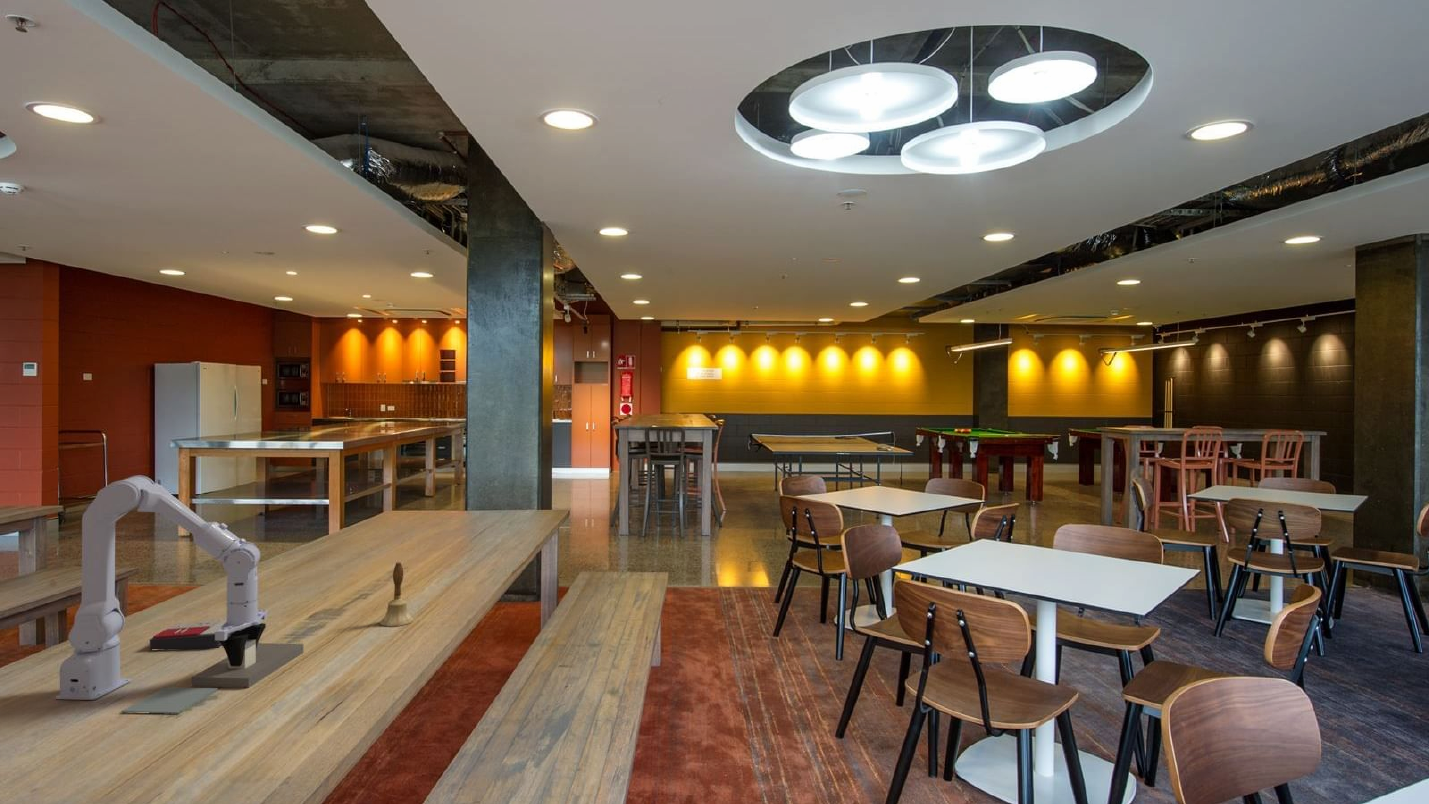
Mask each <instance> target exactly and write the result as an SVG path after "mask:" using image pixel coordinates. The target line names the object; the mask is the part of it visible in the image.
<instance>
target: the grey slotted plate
mask: <svg viewBox="0 0 1429 804" xmlns="http://www.w3.org/2000/svg"><path fill="white" fill-rule="evenodd" d="M303 653H304V643H267V642H266V643H264V642H263V643H261V642H260V643H259V642H258V645H257V648H256V663H254V664H253V665H251V666H249V667H248V668H246V669H233V668H228V657H225V658H222V660H220V661H218V662H217V663H214V664H212V665H211V666H209V667H207V668H206V669H204V670H202V671H200V672H198V673H196V674H195V675H192V676H191V687H192V686H197V687H196V688H236V687H246V688H247V689H248V688H250V686H251V687H253V686H254V685H256V684H257V683H258V682H259V680H260V681H261V679H262V678H263V679H264V677H265V678H266V677H268V676H269V675H271V674H272V673H274V672H276V671H277V670H279V669H280V668H282V667H283V666H285V665H286V664H288V663H289V662H290V661H292V660H294V659H296V658H298V657H299V656H300V655H301V654H303ZM276 669H277V670H276ZM263 679H262V680H263ZM246 688H245V689H246Z"/></svg>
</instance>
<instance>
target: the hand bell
mask: <svg viewBox="0 0 1429 804" xmlns="http://www.w3.org/2000/svg"><path fill="white" fill-rule="evenodd" d="M392 579H393V580H392V582H393V584H394V585H393V586H394V592H393V599H392V600H390V601H388V604H387V610H386V612H385V615H384V616H383V618H382V619H380V621H379V625H381V626H382V627H388V628H389V627H392V628H393V627H401V626H402V627H403V626H406V625H410V624H411V623H412V622H414V618H413V616H412V615H410V613H409V611H408V607H407V601H406V600H404V599H403V598H402V597H401V595H402V590H401V589H402V588H401V587H402V583H403V580H404V568H403V565H402V562H400V561H399V562H398V561H397V562H396V563H395V566H394V568H393V572H392Z"/></svg>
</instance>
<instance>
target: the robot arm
mask: <svg viewBox="0 0 1429 804" xmlns="http://www.w3.org/2000/svg"><path fill="white" fill-rule="evenodd" d="M90 503H91V504H90V505H89V506H88V507H87V509H86V510H85V511H84V512H83V514H82V518H81V519H82V520H81V521H82V522H81V602H80V605H79V607H78V609H77V611H76V613H75V616H74V623H73V626H72V627H71V629H70V631H69V634H68V642H69V644H70V645H71V647H73V648H74V650H73V652H72V653H71V655H70V656H69V657H67V658H66V659H64V660H63V661H62V663H61V665H60V666H59V667H60V668H59V695H56V696H55V699H56V700H77V701H78V700H80V701H81V700H84V701H85V700H87V701H93V700H96V699H99V698H100V697H103V696H104V695H107V694H109V693H110V692H112V691H115V690H116V689H119V688H120V687H122V686H124V685H126V684H129V683H130V682H131V681H132V678H121V639H120V637H119V633H120V632H121V631H122V630H123V628H124V626H125V624H126V621H125V620H126V619H125V616H124V613H123V612H122V611H121V608H120V607H121V606H120V604H121V603H120V601H119V599H118V598H117V597H116V523H117V521H119V520H120V519H121V518H122V517H124V516H125V515H127V514H128V513H129V512H130V511H131V510H134V509H136V508H137V512H141V513H145V512H146V513H158V514H160V515H161V516H163V517H165V518H166V519H168V520H169V521H171V522H172V523H175V524H176V525H178V526H179V527H181V528H182V529H184V530H186V531H187V532H188V533H190V534H191V535H192V537H193V544H195V545H196V546H198V548H200V549H202V550H203V551H205V552H206V553H208V555H210V556H211V557H213V558H215V559H216V560H217V561H219V562H222V567H223V570H224V571H225V572H226V575H227V578H226V579H227V581H226V620H227V621H226V622H225V623H224V625H223V626H222V627H221V628H220V629H219V630H217V631H215V640H218V641H219V642H220V643H221V645H222V648H223V649H224V651H225V653H226V656H227V657H228V660H229V663H230V666H241V665H242V661H243V653H244V647H245V643H246V641H247V639H256V648H257V645H258V643H259V642H260V639H261V637H262V634H263V633H264V631H265V629H266V628H267V627H266V626H267V625H266V623H263V621H264V620H267V619H268V610H267V609H258V608H259V607H258V606H259V597H258V595H259V593H258V591H259V590H258V589H259V587H258V586H259V584H258V583H259V581H258V580H259V577H258V566H257V564H258V563H259V561H260V559H261V551H260V549H259V548H258V546H256V544H255V543H254V542H249V541H247V540H246V539H245V538H243V537H242V538H240V537H238V536H237V535H235V534H234V533H233V532H231V531H230V530H228V529H227V528H228V525H227V524H225V523H224V522H222V523H219V522H217V521H210V522H209V521H205V520H204V519H202V518H201V516H199V515H198V514H196V513H195V512H194V511H193V510H192V509H190V508H189V507H188V506H187V505H185V504H184V503H182V501H180V500H179V499H178V498H176V497H175V496H174V495H172V494H171V493H170V492H169V491H168V490H167V489H166V488H164V486H163V485H161V484H159V483H155V482H154V481H153V480H152V479H151V478H149V477H148V476H145V475H141V474H140V475H139V474H137V475H132V476H130V477H127V478H124V479H122V480H116V481H113V482H111V483H109V484H108V485H105V486H104V487H103V488H101V489H100V490H98V492H97V495H96V497H95V498H94V499H93V501H92V502H90ZM227 657H226V658H227Z"/></svg>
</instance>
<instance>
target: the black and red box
mask: <svg viewBox="0 0 1429 804" xmlns="http://www.w3.org/2000/svg"><path fill="white" fill-rule="evenodd" d="M226 621H227V619H225V620H224V619H222V620H221V621H220V619H215V620H213V619H212V620H200V621H187V622H176V623H175V624H173V625H171V626H169V627H168V628H166V629H164V630H162V631H161V632H160V631H159V633H156V634H154V635H153V636H152V638H151V639H149V648H150V649H182V650H193V649H194V648H195V649H198V650H210V649H209V648H218V649H220V648H221V647H220V646H222V645H221V643H220V642H219V641H218V640H215V631H217V630H219V629H220V628H221V627H222V626H223V625H224V623H225V622H226ZM219 647H220V648H219ZM222 647H223V646H222ZM150 649H149V650H150Z"/></svg>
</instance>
